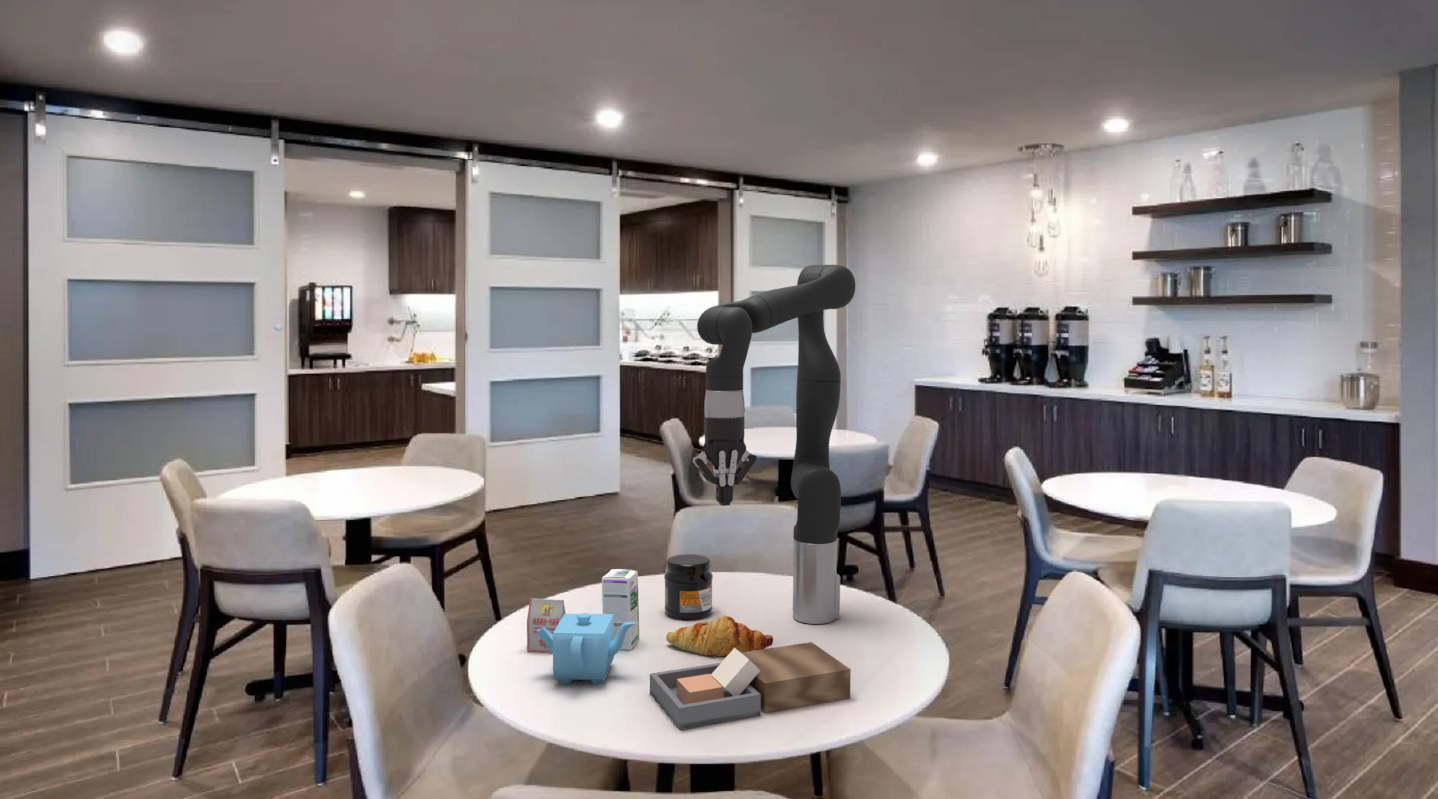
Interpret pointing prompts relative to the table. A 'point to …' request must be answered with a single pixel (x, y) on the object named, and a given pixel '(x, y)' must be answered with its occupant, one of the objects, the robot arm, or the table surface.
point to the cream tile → (735, 672)
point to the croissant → (718, 637)
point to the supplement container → (688, 587)
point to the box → (705, 711)
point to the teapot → (583, 646)
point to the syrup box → (622, 602)
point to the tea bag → (542, 621)
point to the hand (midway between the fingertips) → (724, 504)
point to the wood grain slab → (798, 676)
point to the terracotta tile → (699, 689)
